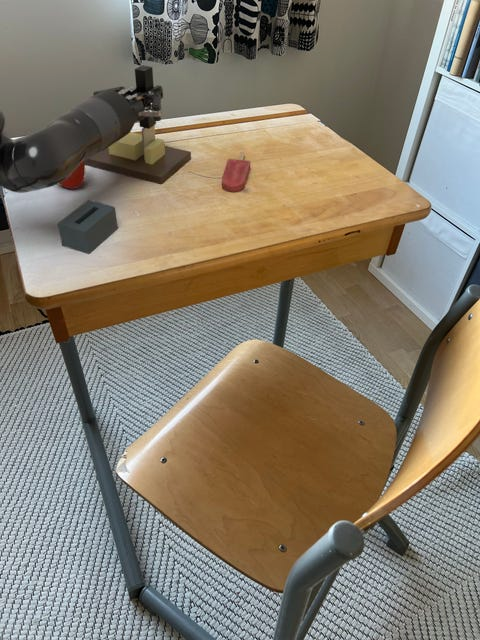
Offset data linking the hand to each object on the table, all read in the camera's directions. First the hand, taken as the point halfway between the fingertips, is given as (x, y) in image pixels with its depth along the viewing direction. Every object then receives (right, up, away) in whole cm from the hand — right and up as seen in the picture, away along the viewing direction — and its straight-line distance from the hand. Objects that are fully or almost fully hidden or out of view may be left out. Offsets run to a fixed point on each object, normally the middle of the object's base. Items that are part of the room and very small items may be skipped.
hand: (153, 89), depth 93 cm
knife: (-2, -10, +6) cm, 12 cm away
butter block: (-6, -9, +7) cm, 13 cm away
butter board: (-5, -11, +8) cm, 14 cm away
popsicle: (+15, -14, +6) cm, 21 cm away
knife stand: (-8, -29, -12) cm, 32 cm away
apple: (-15, -18, 0) cm, 23 cm away
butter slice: (-1, -11, +6) cm, 12 cm away
